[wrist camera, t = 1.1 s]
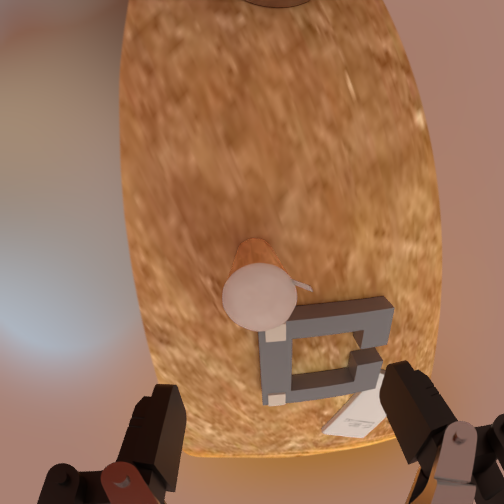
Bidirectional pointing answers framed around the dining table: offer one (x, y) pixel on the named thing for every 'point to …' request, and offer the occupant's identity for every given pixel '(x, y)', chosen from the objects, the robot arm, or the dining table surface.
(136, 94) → the dining table surface
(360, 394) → the external hard drive
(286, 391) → the frame
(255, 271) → the milkshake
